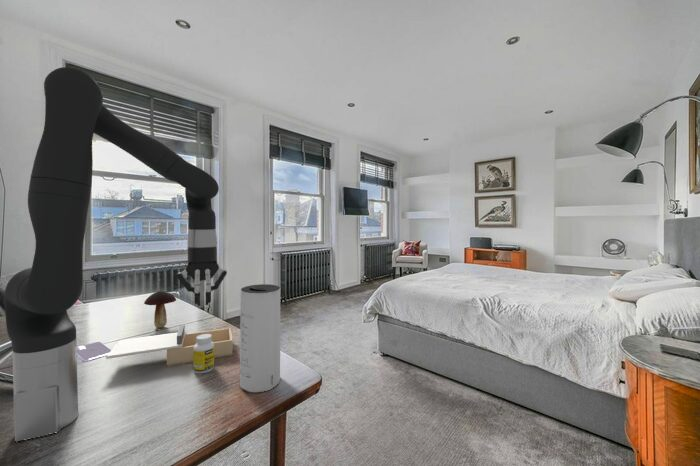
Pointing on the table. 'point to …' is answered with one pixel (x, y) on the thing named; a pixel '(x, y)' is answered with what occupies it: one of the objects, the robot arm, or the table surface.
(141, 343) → the mailer lid
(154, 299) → the decorative mushroom
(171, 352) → the light wooden open box
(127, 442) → the table surface
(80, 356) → the mobile phone
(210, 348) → the supplement bottle
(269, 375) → the speaker
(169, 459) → the table surface
